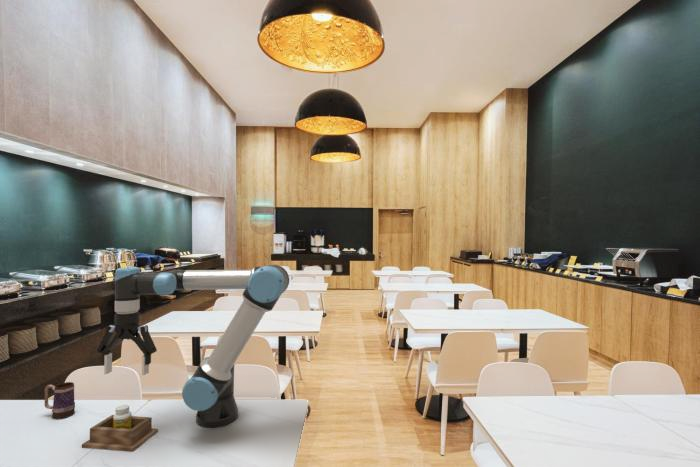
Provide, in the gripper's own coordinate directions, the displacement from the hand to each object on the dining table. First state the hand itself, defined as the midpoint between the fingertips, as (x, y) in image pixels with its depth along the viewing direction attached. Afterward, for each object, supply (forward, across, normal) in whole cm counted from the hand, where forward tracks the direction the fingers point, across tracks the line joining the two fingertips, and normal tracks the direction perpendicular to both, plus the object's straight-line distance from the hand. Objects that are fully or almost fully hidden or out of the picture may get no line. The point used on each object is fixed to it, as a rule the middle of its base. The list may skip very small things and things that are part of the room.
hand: (126, 373), depth 132 cm
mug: (+21, +36, -12) cm, 43 cm away
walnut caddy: (+21, 0, +2) cm, 21 cm away
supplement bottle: (+20, 0, +2) cm, 20 cm away
